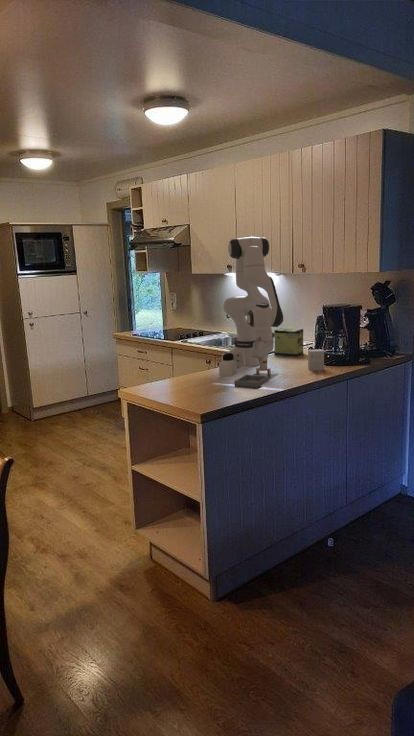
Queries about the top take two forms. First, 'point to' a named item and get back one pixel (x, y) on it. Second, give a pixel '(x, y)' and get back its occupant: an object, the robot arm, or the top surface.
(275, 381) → the top surface
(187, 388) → the top surface
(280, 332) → the protein box
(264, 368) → the fuse
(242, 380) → the tray
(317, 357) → the small box
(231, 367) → the medicine bottle
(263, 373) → the clip holder
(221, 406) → the top surface
